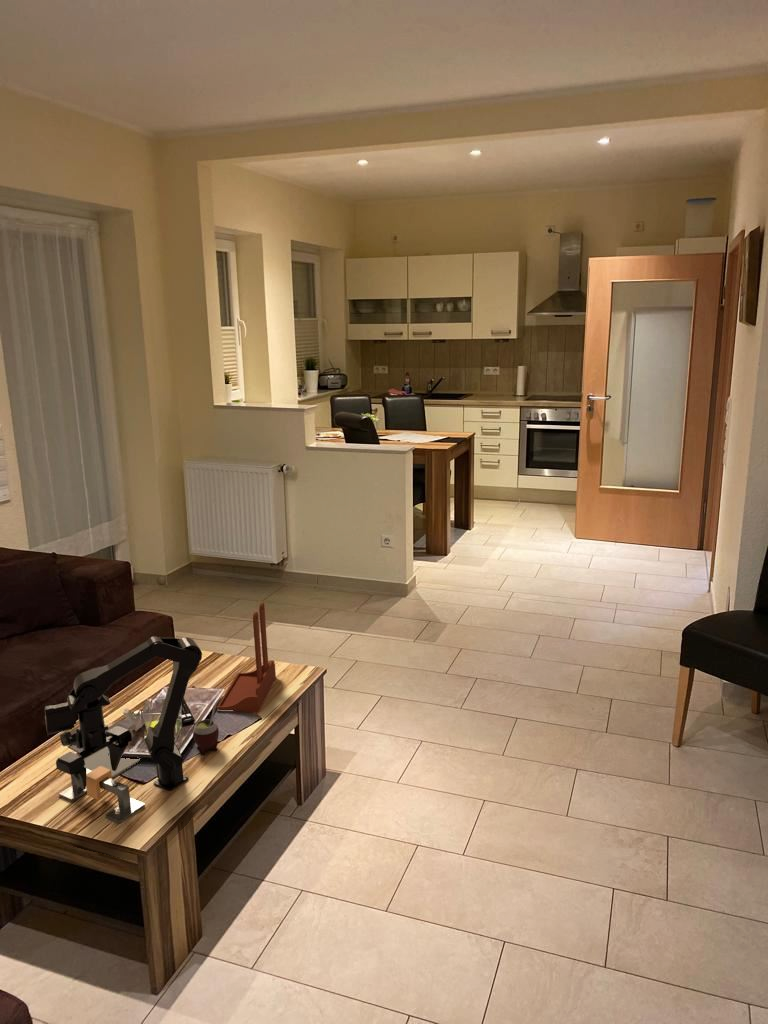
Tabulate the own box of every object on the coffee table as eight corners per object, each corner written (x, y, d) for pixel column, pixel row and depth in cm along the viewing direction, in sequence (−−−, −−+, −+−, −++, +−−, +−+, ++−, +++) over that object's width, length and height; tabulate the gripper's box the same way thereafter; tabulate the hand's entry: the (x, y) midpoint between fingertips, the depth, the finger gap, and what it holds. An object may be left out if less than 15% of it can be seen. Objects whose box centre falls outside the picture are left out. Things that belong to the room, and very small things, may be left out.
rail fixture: (145, 806, 193) (142, 781, 192) (119, 824, 187) (116, 798, 185) (85, 780, 205) (82, 757, 204) (59, 796, 199) (55, 772, 197)
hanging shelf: (238, 677, 264) (231, 594, 257) (275, 678, 263) (270, 594, 255) (217, 712, 240) (209, 621, 233) (258, 712, 239) (251, 622, 232)
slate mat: (141, 760, 214) (140, 759, 214) (105, 782, 204) (105, 780, 204) (107, 747, 221) (107, 745, 221) (71, 768, 211) (71, 766, 211)
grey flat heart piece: (140, 723, 234) (137, 699, 232) (145, 724, 234) (142, 700, 232) (125, 735, 228) (122, 710, 226) (130, 736, 227) (127, 711, 225)
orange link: (113, 790, 196) (111, 770, 195) (97, 799, 192) (95, 779, 191) (103, 785, 198) (100, 765, 197) (87, 795, 194) (84, 775, 193)
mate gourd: (190, 754, 216) (185, 705, 213) (203, 740, 224) (199, 692, 220) (214, 757, 214) (209, 708, 211) (227, 743, 222) (223, 695, 218)
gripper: (101, 700, 203) (108, 753, 206) (37, 732, 187) (46, 789, 191) (130, 710, 197) (136, 764, 201) (67, 744, 182) (75, 802, 185)
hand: (99, 779), depth 195 cm, fingers open, 9 cm apart
